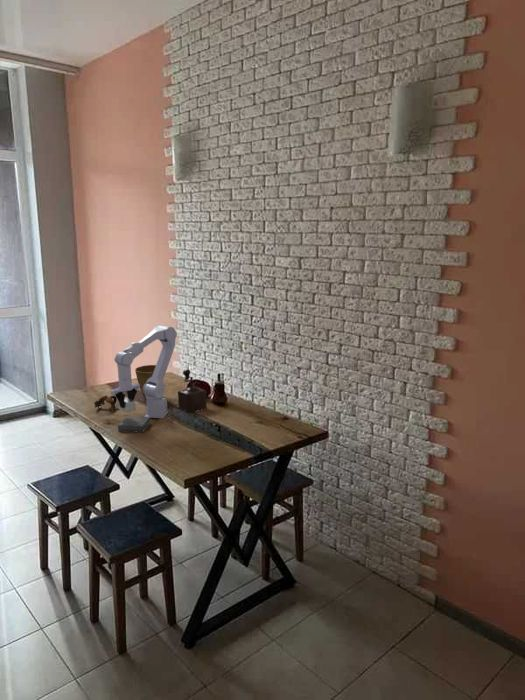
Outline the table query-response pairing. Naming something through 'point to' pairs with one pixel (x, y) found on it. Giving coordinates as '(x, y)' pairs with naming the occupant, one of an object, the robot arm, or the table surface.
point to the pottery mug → (107, 399)
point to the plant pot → (144, 375)
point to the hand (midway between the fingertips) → (126, 406)
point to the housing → (127, 405)
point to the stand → (134, 424)
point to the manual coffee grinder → (191, 396)
